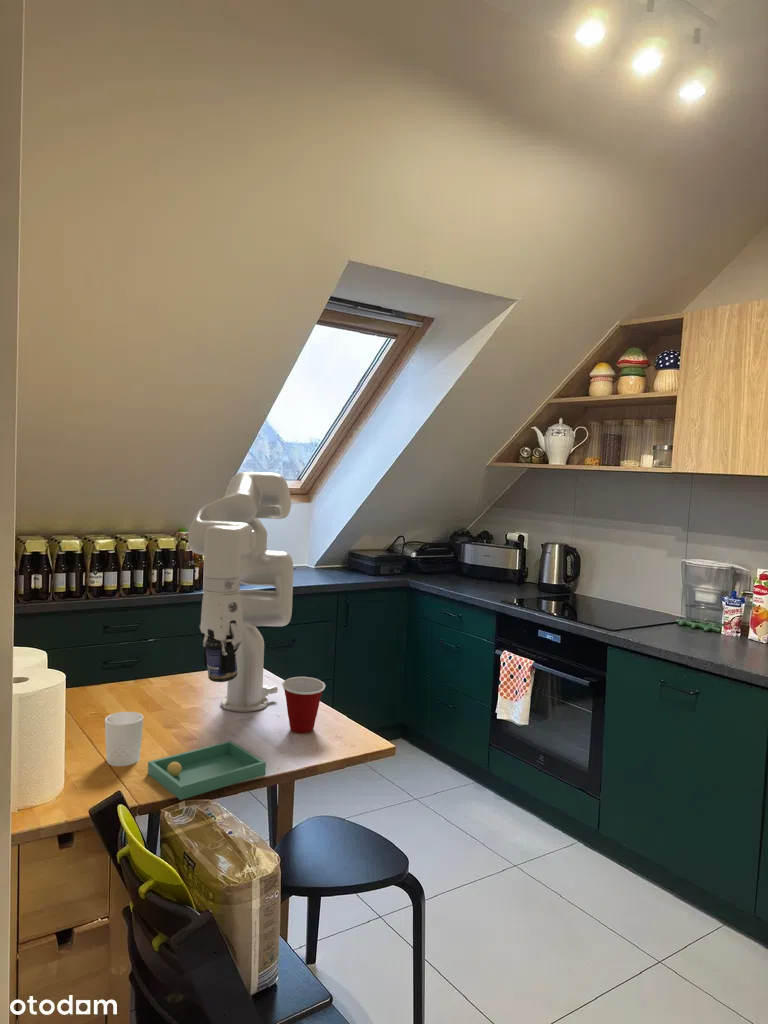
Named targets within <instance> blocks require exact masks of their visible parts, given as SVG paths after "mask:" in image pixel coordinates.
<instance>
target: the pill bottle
mask: <svg viewBox="0 0 768 1024" xmlns="http://www.w3.org/2000/svg"><path fill="white" fill-rule="evenodd" d="M208 635H209V639H207V641H206V643H205V646H206V657H207V666H206V667H207V678H208V679H209V680H210V681H212V682H215V683H225V682H228V681H230V680H232V679H234V678H235V677H236V676H237V662H236V654H235V671H234V672H232V673H227V674H221V673H220V655H223V654H222V648H221V642H220V641H218V640H216V639H214V631H212V630H209V629H208ZM226 639H230V636H229V637H226ZM229 644H230V642H229V643H226V647H228V646H229Z"/></svg>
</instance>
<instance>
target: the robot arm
mask: <svg viewBox="0 0 768 1024" xmlns="http://www.w3.org/2000/svg"><path fill="white" fill-rule="evenodd" d="M291 507H292V497H291V493H290V489H289V484H288V482H287V480H286V478H285V477H283V475H281V474H279V473H276V472H259V471H258V472H255V471H242V472H239V473H237V474H234V475H233V476H232V477H231V479H230V481H229V483H228V485H227V488H226V491H225V493H224V496H223V497H222V498H219V499H217V500H215V501H212V502H210V503H208V504H206V505H204V506H203V507H201V508H200V509H199V510H198V511H197V512H196V514H195V515H194V519H192V522H191V524H190V527H189V531H188V537H187V539H188V541H187V542H188V546H189V548H190V550H191V551H192V552H193V553H194V554H196V555H201V556H203V579H202V593H203V594H202V601H201V613H200V624H199V630H200V632H201V637H202V640H203V641H202V646H203V666H205V667H207V657H206V646H205V643H206V641H207V639H209V635H208V629H209V630H212V631H214V639H216V640H218V641H220V642H221V648H222V654H223V655H220V673H221V674H227V673H232V672H234V671H235V654H236V662H237V676H236V677H235V678H234V679H232V680H230V681H227V685H226V689H227V690H226V691H227V693H226V696H224V697H223V698H221V700H220V705H221V708H223V709H225V710H226V711H227V710H228V711H232V712H240V713H245V712H246V713H248V712H255V711H260V710H262V709H264V708H266V707H268V704H269V699H268V698H267V696H269V695H272V694H276V693H278V687H277V685H274V686H270V687H269V685H263V684H264V663H265V662H264V661H265V660H264V659H265V658H264V657H265V641H264V637H263V635H262V634H261V632H260V631H259V629H258V628H257V627H284V626H287V625H288V624H289V623H290V622H291V619H292V615H293V614H292V613H293V591H294V590H293V589H294V561H293V558H292V556H291V555H290V553H288V552H286V551H282V550H281V551H280V550H268V548H267V547H268V545H267V544H268V532H267V528H266V527H265V526H264V524H263V523H262V521H261V520H260V519H270V520H271V519H272V520H283V519H285V518H287V517H288V516H289V514H290V512H291ZM240 584H241V585H248V586H265V587H267V586H268V587H274V588H275V590H261V589H240V588H241V587H240ZM229 636H230V639H226V637H229ZM229 642H230V644H229V646H228V647H226V643H229Z"/></svg>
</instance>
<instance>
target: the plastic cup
mask: <svg viewBox="0 0 768 1024" xmlns="http://www.w3.org/2000/svg"><path fill="white" fill-rule="evenodd" d="M281 685H282V687H283V690H284V696H285V700H286V701H285V702H286V710H287V717H288V723H289V728H290V731H291V732H292V733H294V734H295V733H296V734H299V735H301V734H308V733H312V732H313V731H314V728H315V724H316V719H317V716H318V710H319V706H320V703H321V698H322V695H323V691H324V690H325V688H326V684H325V682H324V681H321V680H320V679H318V678H316V677H315V678H314V677H311V676H310V677H307V676H295V677H289V678H287V679H284V681H283V682H282V684H281Z"/></svg>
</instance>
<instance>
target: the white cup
mask: <svg viewBox="0 0 768 1024" xmlns="http://www.w3.org/2000/svg"><path fill="white" fill-rule="evenodd" d="M143 725H144V715H143V714H142V713H140V712H137V711H120V712H115V713H112V714H109V715H107V716H106V717H105V719H104V729H105V731H104V735H105V736H104V738H105V739H104V740H105V742H104V743H105V754H106V763H107V764H108V765H110V766H112V767H127V766H131V765H132V766H133V765H135V764H136V763H138V762H139V761H140V759H141V748H142V741H143V728H144V727H143Z"/></svg>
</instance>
